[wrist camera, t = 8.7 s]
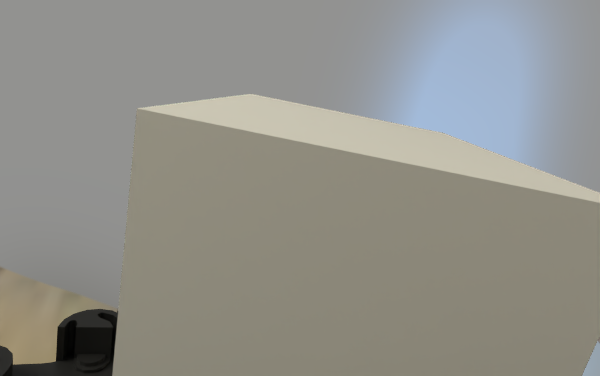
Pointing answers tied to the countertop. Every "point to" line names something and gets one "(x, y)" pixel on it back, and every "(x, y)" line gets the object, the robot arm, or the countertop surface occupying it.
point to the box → (346, 250)
